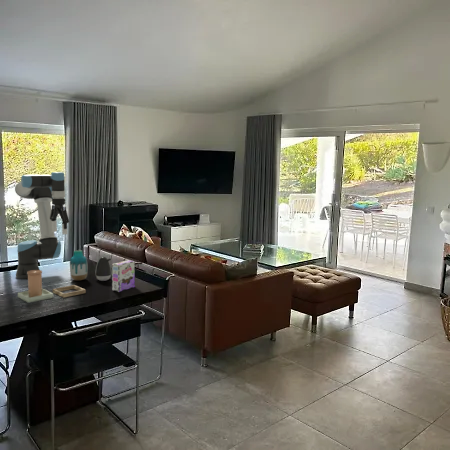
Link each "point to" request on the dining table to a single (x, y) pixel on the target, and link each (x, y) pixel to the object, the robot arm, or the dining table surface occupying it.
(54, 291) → the oak corral
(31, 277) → the canister
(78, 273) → the vase
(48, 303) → the dining table surface
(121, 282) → the candy box
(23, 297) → the green tray
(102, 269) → the pump dispenser
